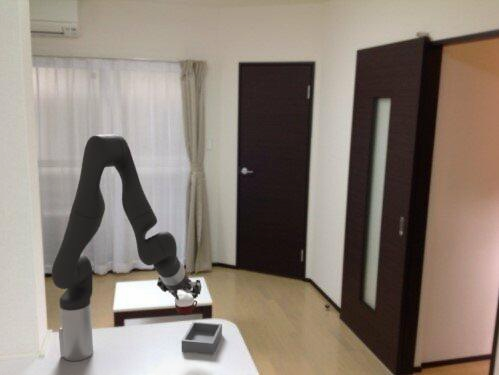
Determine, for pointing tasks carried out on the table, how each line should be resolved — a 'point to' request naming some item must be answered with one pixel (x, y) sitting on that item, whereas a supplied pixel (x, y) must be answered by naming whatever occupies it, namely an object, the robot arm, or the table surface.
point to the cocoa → (184, 303)
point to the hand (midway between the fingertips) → (185, 294)
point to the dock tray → (202, 338)
